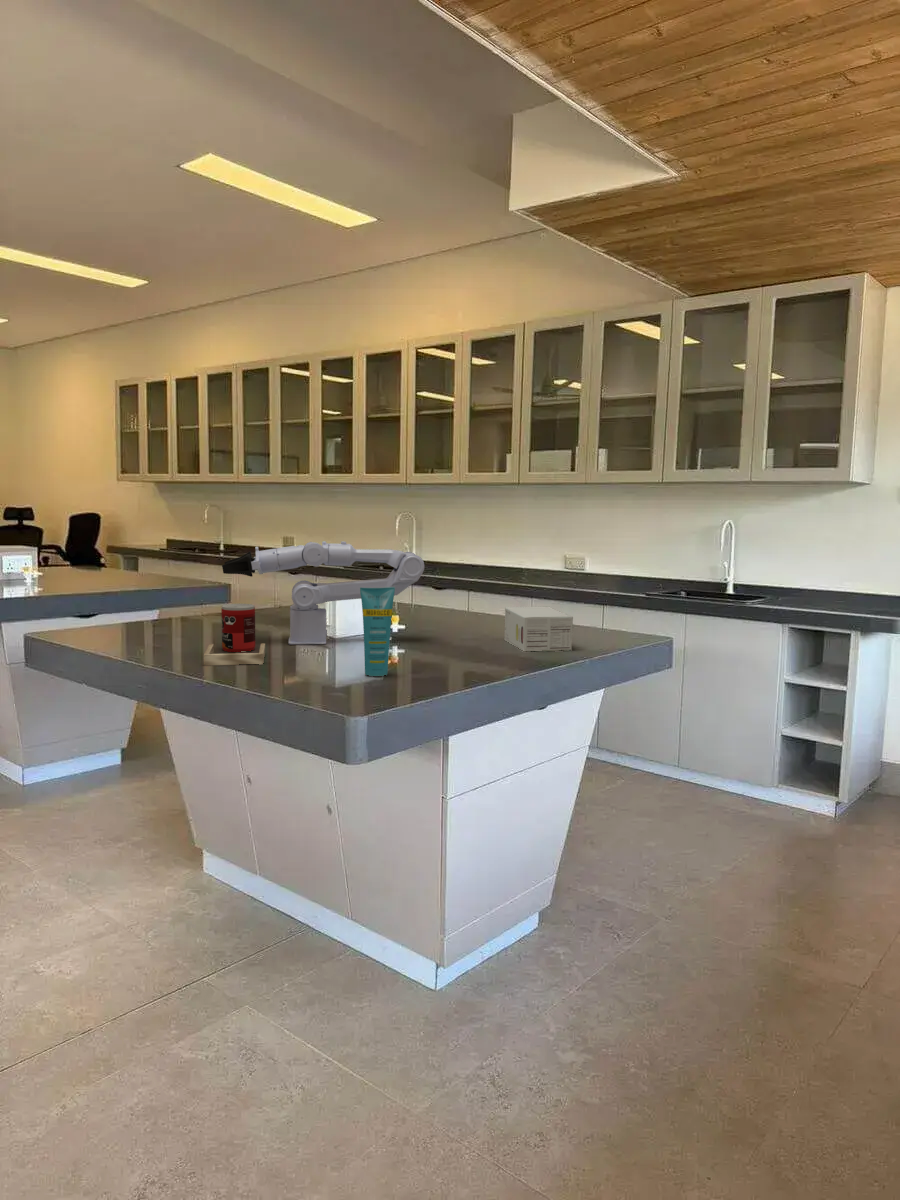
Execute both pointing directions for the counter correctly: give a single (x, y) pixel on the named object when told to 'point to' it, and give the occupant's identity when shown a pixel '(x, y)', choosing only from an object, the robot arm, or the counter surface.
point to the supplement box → (538, 628)
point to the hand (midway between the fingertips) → (223, 567)
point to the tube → (377, 628)
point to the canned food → (238, 627)
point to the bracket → (233, 657)
